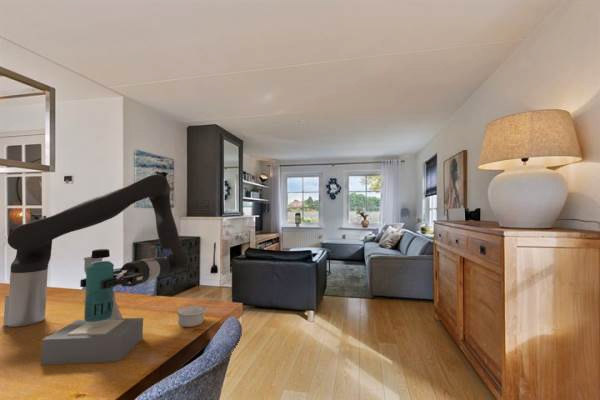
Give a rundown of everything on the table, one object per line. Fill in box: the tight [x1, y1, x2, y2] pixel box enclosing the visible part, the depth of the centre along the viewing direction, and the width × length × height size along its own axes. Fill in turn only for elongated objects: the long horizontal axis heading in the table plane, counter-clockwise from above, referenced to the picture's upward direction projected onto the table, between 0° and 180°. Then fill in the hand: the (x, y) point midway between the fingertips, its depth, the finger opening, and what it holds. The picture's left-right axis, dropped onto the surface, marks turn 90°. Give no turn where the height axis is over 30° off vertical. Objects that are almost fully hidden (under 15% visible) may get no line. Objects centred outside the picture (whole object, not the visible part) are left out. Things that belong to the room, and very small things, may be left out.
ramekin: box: [177, 305, 206, 328], centre depth 96 cm, size 9×9×4 cm
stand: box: [40, 317, 144, 366], centre depth 76 cm, size 18×13×6 cm
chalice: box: [83, 256, 104, 303], centre depth 118 cm, size 7×7×18 cm
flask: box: [108, 289, 123, 319], centre depth 97 cm, size 7×7×10 cm
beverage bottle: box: [83, 248, 115, 322], centre depth 76 cm, size 6×7×20 cm
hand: (91, 284), depth 74 cm, fingers closed on beverage bottle, 6 cm apart
